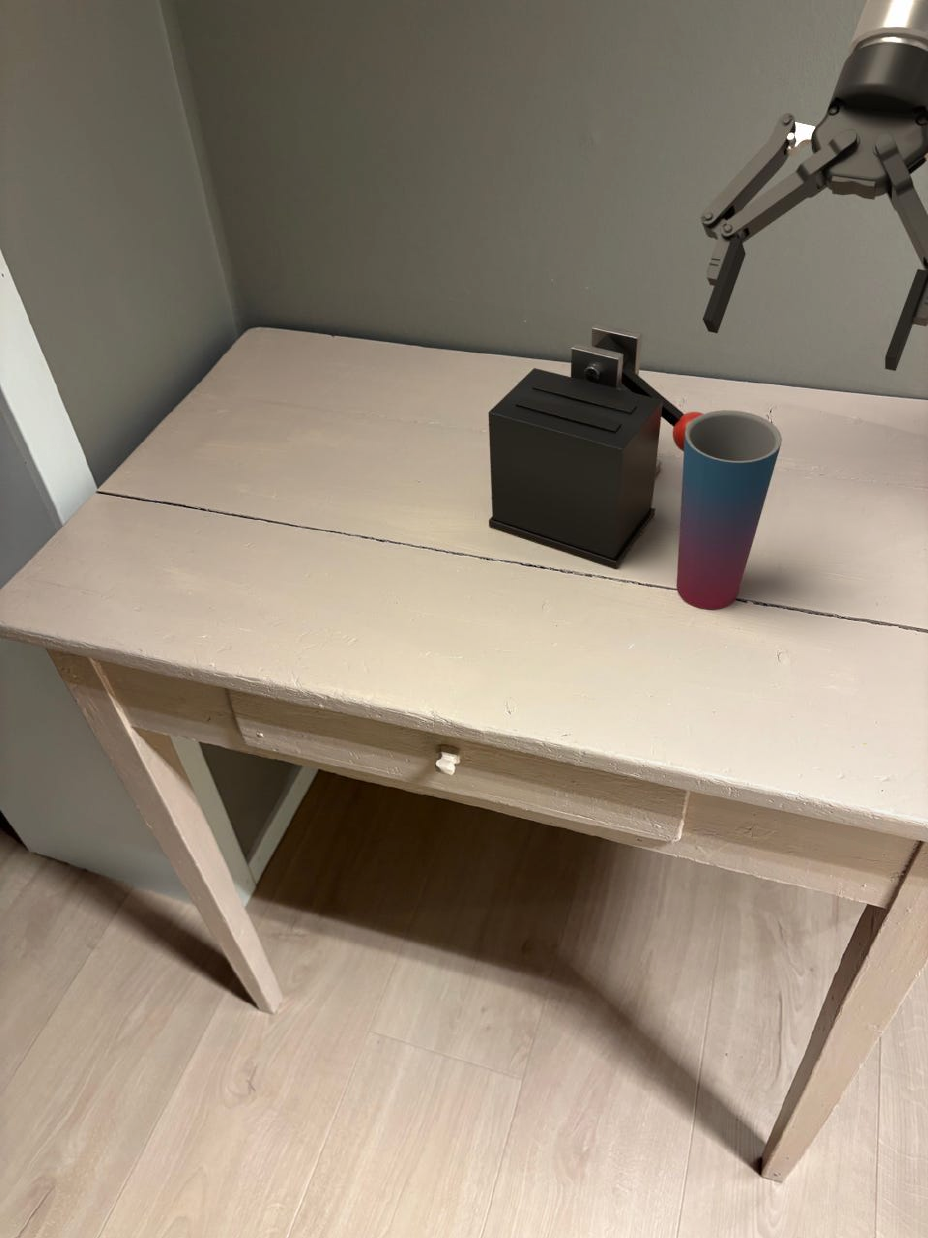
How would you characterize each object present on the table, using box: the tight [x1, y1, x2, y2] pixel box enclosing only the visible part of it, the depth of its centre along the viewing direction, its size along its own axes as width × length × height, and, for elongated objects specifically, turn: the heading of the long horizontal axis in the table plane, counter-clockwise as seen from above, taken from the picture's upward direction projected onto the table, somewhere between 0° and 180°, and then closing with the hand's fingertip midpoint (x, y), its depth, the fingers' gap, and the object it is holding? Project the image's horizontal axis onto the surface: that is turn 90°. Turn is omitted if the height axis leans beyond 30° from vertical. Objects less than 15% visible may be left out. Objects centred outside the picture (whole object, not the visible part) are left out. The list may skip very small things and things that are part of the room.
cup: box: [676, 409, 783, 610], centre depth 74 cm, size 7×7×15 cm
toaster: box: [487, 367, 663, 570], centre depth 83 cm, size 13×8×12 cm
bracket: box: [570, 323, 662, 477], centre depth 87 cm, size 10×6×14 cm, turn 59°
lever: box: [594, 335, 704, 453], centre depth 84 cm, size 13×4×4 cm
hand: (796, 345), depth 72 cm, fingers open, 13 cm apart
